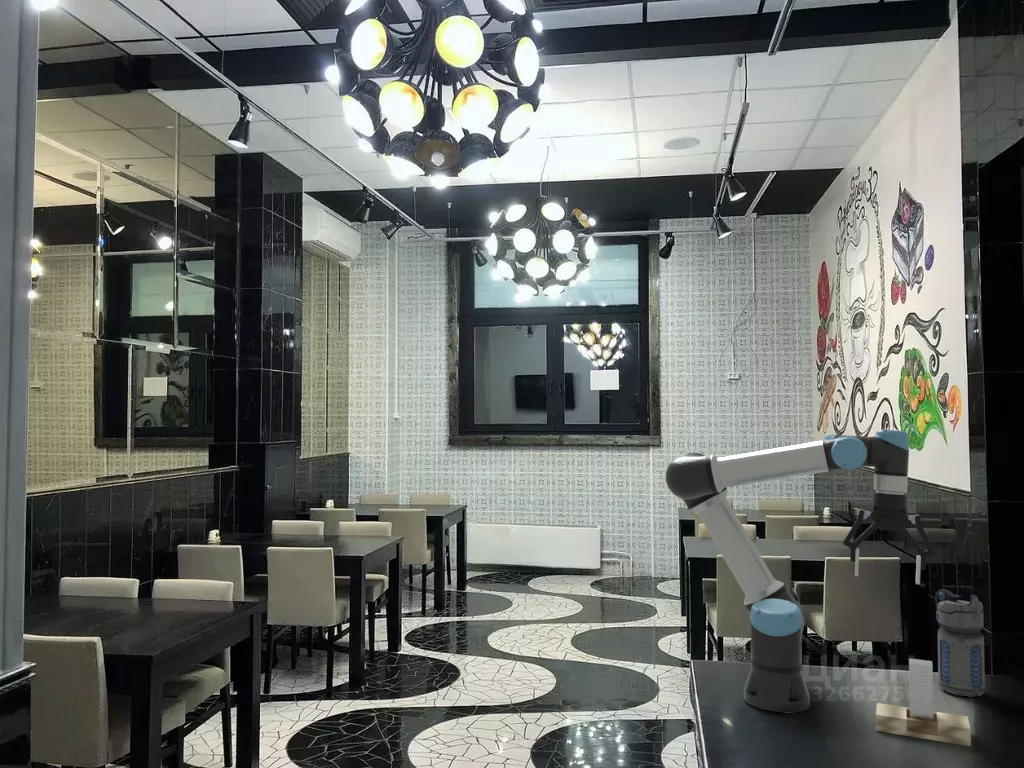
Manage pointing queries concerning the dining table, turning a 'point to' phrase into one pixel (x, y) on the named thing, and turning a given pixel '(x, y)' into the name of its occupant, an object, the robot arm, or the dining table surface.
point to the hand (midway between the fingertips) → (886, 579)
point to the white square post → (921, 689)
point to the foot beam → (923, 725)
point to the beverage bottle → (960, 644)
